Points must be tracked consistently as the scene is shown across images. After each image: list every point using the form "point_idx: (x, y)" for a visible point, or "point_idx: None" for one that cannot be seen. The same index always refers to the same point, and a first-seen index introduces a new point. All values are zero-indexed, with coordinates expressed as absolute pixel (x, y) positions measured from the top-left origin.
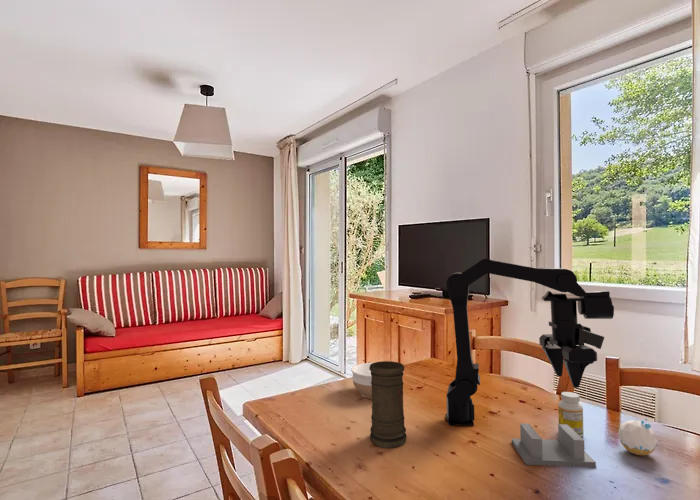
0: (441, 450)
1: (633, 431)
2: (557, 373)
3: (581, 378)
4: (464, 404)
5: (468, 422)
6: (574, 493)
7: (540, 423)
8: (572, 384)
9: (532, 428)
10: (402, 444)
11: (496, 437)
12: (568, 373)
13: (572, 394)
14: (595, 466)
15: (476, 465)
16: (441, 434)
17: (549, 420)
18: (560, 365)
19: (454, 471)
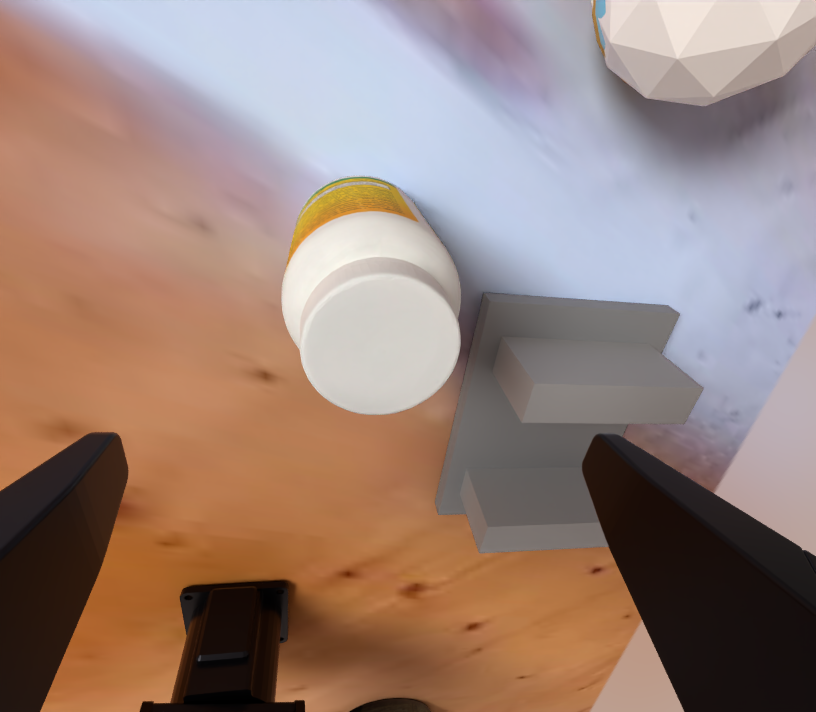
0: (457, 644)
1: (804, 51)
2: (112, 506)
3: (737, 509)
4: (273, 689)
5: (273, 600)
6: (743, 434)
7: (224, 341)
8: (594, 499)
9: (536, 526)
10: (417, 701)
11: (386, 533)
12: (684, 668)
13: (380, 329)
14: (668, 307)
15: (548, 591)
16: (357, 646)
17: (165, 273)
18: (16, 592)
19: (560, 625)
